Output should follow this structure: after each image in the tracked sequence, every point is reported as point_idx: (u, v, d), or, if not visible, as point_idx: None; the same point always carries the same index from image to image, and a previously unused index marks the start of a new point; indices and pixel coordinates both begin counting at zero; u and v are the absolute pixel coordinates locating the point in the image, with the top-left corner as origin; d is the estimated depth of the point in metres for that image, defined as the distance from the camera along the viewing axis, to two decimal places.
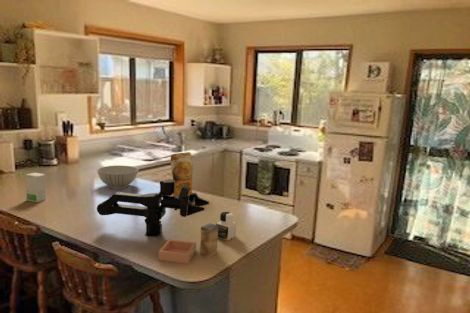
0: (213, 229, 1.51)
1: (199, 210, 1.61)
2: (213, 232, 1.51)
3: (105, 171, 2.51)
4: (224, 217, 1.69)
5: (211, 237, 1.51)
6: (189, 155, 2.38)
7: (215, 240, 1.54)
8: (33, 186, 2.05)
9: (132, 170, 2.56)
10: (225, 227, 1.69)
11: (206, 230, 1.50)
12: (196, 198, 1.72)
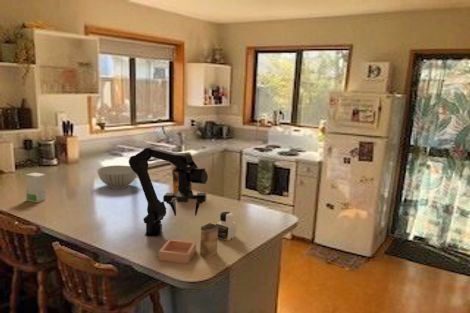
0: (213, 229, 1.51)
1: None
2: (213, 232, 1.51)
3: (105, 171, 2.51)
4: (224, 217, 1.69)
5: (211, 237, 1.51)
6: None
7: (215, 240, 1.54)
8: (33, 186, 2.05)
9: (132, 170, 2.56)
10: (225, 227, 1.69)
11: (206, 230, 1.50)
12: (196, 203, 1.61)
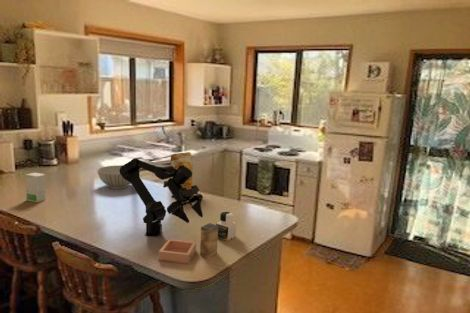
0: (213, 229, 1.51)
1: (183, 219, 1.53)
2: (213, 232, 1.51)
3: (105, 171, 2.51)
4: (224, 217, 1.69)
5: (211, 237, 1.51)
6: (189, 155, 2.38)
7: (215, 240, 1.54)
8: (33, 186, 2.05)
9: None
10: (225, 227, 1.69)
11: (206, 230, 1.50)
12: (197, 203, 1.62)
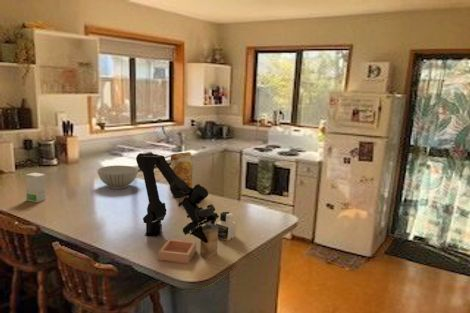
0: (213, 229, 1.51)
1: (202, 239, 1.50)
2: (213, 232, 1.51)
3: (105, 171, 2.51)
4: (224, 217, 1.69)
5: (211, 237, 1.51)
6: (189, 155, 2.38)
7: (215, 240, 1.54)
8: (33, 186, 2.05)
9: (132, 170, 2.56)
10: (225, 227, 1.69)
11: (206, 230, 1.50)
12: None
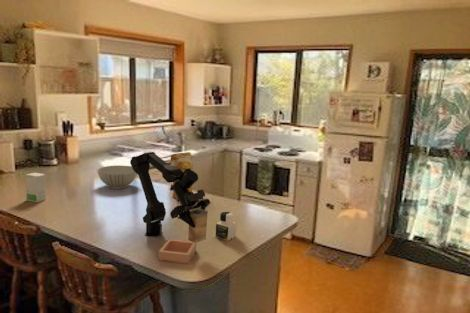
0: (201, 214, 1.48)
1: (189, 224, 1.48)
2: (201, 217, 1.49)
3: (105, 171, 2.51)
4: (224, 217, 1.69)
5: (199, 222, 1.48)
6: (189, 155, 2.38)
7: (204, 226, 1.51)
8: (33, 186, 2.05)
9: (132, 170, 2.56)
10: (225, 227, 1.69)
11: (194, 215, 1.47)
12: None
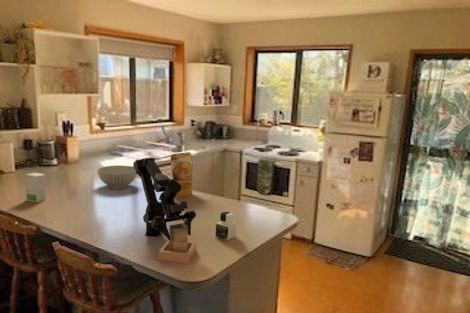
0: (180, 229, 1.47)
1: (166, 236, 1.47)
2: (180, 232, 1.47)
3: (105, 171, 2.51)
4: (224, 217, 1.69)
5: (178, 237, 1.47)
6: (189, 155, 2.38)
7: (184, 241, 1.49)
8: (33, 186, 2.05)
9: (132, 170, 2.56)
10: (225, 227, 1.69)
11: (172, 229, 1.47)
12: (187, 220, 1.53)
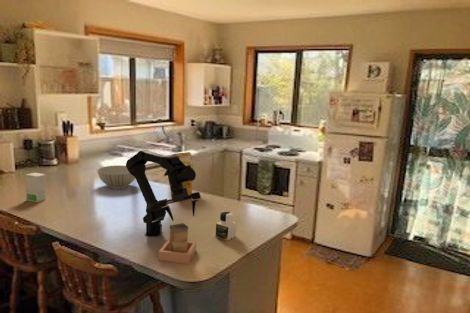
0: (180, 229, 1.47)
1: (170, 216, 1.59)
2: (180, 232, 1.47)
3: (105, 171, 2.51)
4: (224, 217, 1.69)
5: (178, 237, 1.47)
6: (189, 155, 2.38)
7: (184, 241, 1.49)
8: (33, 186, 2.05)
9: None
10: (225, 227, 1.69)
11: (172, 229, 1.47)
12: None
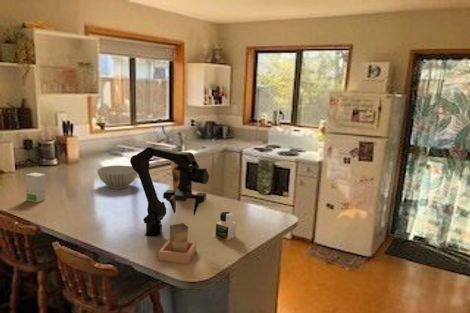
0: (180, 229, 1.47)
1: None
2: (180, 232, 1.47)
3: (105, 171, 2.51)
4: (224, 217, 1.69)
5: (178, 237, 1.47)
6: None
7: (184, 241, 1.49)
8: (33, 186, 2.05)
9: (132, 170, 2.56)
10: (225, 227, 1.69)
11: (172, 229, 1.47)
12: None
